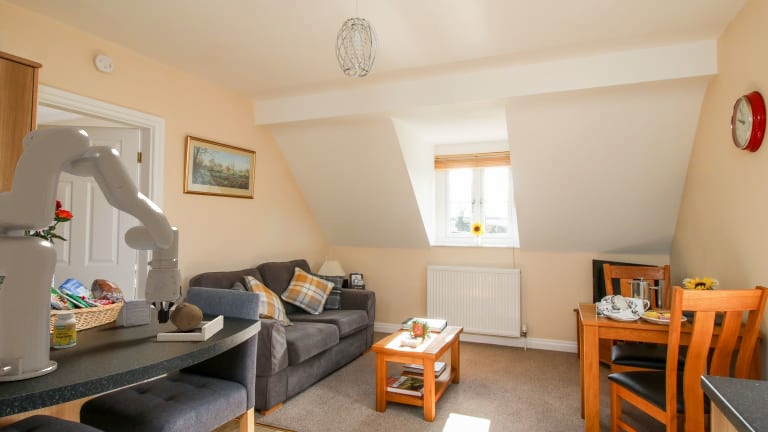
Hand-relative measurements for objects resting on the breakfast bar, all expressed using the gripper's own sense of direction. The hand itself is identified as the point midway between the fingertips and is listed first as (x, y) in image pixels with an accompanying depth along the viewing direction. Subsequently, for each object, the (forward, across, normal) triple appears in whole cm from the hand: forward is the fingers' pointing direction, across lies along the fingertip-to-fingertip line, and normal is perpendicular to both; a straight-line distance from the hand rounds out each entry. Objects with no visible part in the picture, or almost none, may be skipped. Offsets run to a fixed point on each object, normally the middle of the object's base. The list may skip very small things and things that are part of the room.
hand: (163, 322), depth 142 cm
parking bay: (+4, +8, 0) cm, 9 cm away
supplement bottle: (+4, -22, -13) cm, 26 cm away
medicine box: (+4, -15, +16) cm, 22 cm away
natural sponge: (-1, +1, +3) cm, 3 cm away
